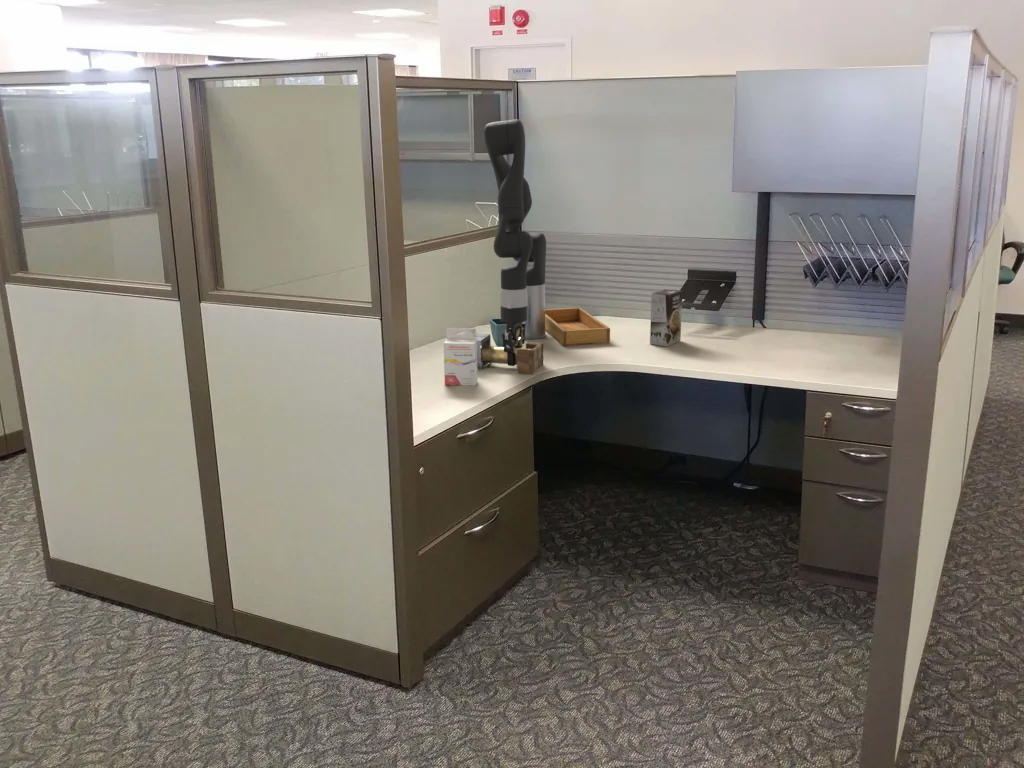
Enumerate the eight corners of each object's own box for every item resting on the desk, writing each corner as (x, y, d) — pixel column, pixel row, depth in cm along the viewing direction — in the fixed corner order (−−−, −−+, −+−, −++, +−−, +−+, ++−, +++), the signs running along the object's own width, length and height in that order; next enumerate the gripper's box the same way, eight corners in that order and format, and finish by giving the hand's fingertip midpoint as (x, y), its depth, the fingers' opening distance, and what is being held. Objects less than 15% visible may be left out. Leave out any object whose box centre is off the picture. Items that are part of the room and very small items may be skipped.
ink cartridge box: (444, 385, 243) (442, 331, 239) (446, 380, 248) (444, 327, 244) (476, 385, 243) (474, 331, 239) (478, 380, 248) (476, 327, 243)
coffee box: (667, 347, 280) (669, 295, 275) (649, 344, 284) (650, 292, 279) (681, 341, 287) (683, 290, 282) (663, 338, 290) (664, 288, 286)
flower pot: (496, 353, 275) (496, 324, 272) (489, 347, 283) (489, 318, 280) (524, 351, 277) (524, 322, 275) (517, 344, 285) (516, 316, 283)
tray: (609, 344, 286) (610, 326, 284) (563, 347, 283) (563, 329, 281) (580, 323, 315) (580, 307, 313) (537, 326, 311) (537, 310, 310)
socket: (528, 364, 263) (528, 342, 261) (543, 365, 262) (543, 343, 260) (516, 373, 254) (516, 350, 252) (532, 374, 252) (532, 352, 250)
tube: (476, 364, 260) (476, 347, 258) (483, 360, 264) (482, 342, 263) (530, 368, 255) (530, 350, 253) (535, 364, 259) (535, 346, 258)
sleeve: (465, 360, 268) (464, 332, 265) (490, 362, 265) (490, 334, 263) (455, 367, 261) (454, 338, 258) (481, 369, 258) (480, 340, 256)
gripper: (509, 298, 261) (510, 355, 266) (492, 308, 248) (493, 368, 253) (534, 299, 259) (534, 357, 264) (518, 309, 246) (519, 370, 251)
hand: (514, 362), depth 259 cm, fingers closed on tube, 4 cm apart
